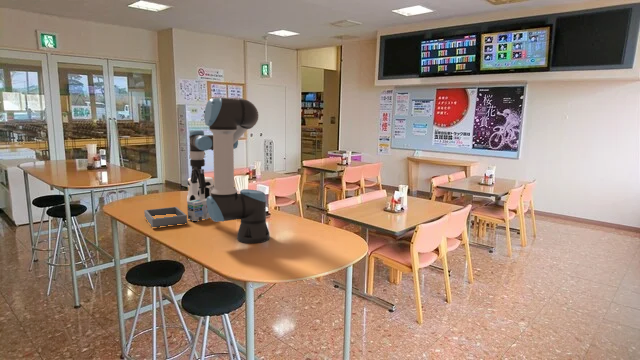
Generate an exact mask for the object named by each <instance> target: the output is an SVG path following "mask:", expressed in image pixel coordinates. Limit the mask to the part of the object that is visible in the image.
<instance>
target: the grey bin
mask: <svg viewBox="0 0 640 360" xmlns="http://www.w3.org/2000/svg"><path fill="white" fill-rule="evenodd" d="M143 211H144V218H145V217H146V219H147V220H148V222H149V223H150V224H151V226H152V227H160V226H168V225H177V224H185V223H187V224H188V214H186V213H185V212H184V211H182V210H181V209H180V208H179V207H178V206H170V207H163V208H161V207H159V208H153V209H144V210H143ZM166 214H176V215H177V216H173V217H164V218H156V219H154V218H153V217H152V216H155V215H166ZM148 222H147V223H148ZM151 226H150V227H151ZM152 227H151V228H152Z"/></svg>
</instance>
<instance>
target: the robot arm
mask: <svg viewBox="0 0 640 360" xmlns="http://www.w3.org/2000/svg"><path fill="white" fill-rule="evenodd" d="M203 114H204V117H203V118H204V124H205V125H206V126H208V127H209V128H208V129H209V131H210V132H211V133H212V134H205V131H204V130H202V129H201V130H200V129H194V130H193V129H192V130H191V129H190V131H189V137H188V139H189V159H190V160H189V165H190V167H191V174H190V175H191V176H190V178H191V182H192V195H198V194H197V183H198V182H199V186H200V187H199V199H200V200H205V187H206V182H205V177H206V176H205V170H204V168H202V167H205V165H206V163H205V162H206V160H205V155H206V152H205V151H209V150H213V153H212V154H213V181H214V189H213V190H212V191H211V196H209V197H207V200H206V203H207V209H208V213H209V215H210V220H212V221H213V222H215V223H216V222H217V223H219V222H227V221H235V220H240V225H239V226H238V227H239V228H238V231H237V233H236V234H237V235H236V240H237V241H238V242H240V243H244V244H258V243H264V242H267V241H269V240H270V231H269V227H268V225H267V220H266V218H267V200H266V194H265V193H264V192H263V191H261V190H257V189H241V190H240V192H239V193H238V190H237V189H236V188H235V170H234V169H235V168H234V165H235V164H234V163H235V161H234V159H235V157H234V156H235V155H234V154H235V151H234V150H236V149H237V148H238V146H239V139H241V137H242V136H243V135H244V134H245V133H246V132H247V131H248V130H250V129H252V128H254V127H255V126H256V124H257V123H258V120H259V112H258V109H257V108H256V106H255V104H253V103H252V102H251V101H249V100H247V99H244V98H227V97H225V98H224V97H218V98H217V97H216V98H213V97H212V98H210V99H208V101H207V102H206V104H205V107H204V113H203ZM197 179H198V182H197Z"/></svg>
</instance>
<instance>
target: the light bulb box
mask: <svg viewBox="0 0 640 360" xmlns="http://www.w3.org/2000/svg"><path fill="white" fill-rule="evenodd" d="M206 200H207V199H205V200H200V199H197V200H192V201H187V200H186V203H187V220H188V219H190V220H193V221H197V222H199V221H198V220H202V219H206V220H209V219H208V218H210V219H211V217H210V215H209V213H208V209H207V203H206ZM190 220H189V221H190ZM193 221H192V222H193ZM202 221H203V220H202Z"/></svg>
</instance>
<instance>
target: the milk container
mask: <svg viewBox="0 0 640 360" xmlns="http://www.w3.org/2000/svg"><path fill="white" fill-rule="evenodd" d="M204 177H205V182H206V187H205V199H207V197H209V196H211V191H212V190H213V189H214V177H211V176H204ZM197 182H198V179H197ZM199 187H200V186H199V182H198V183H197V194H198V195H192V182H191V177H189V178H188V179H187V196H186V202H187V201H192V200H197V199H199Z"/></svg>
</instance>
